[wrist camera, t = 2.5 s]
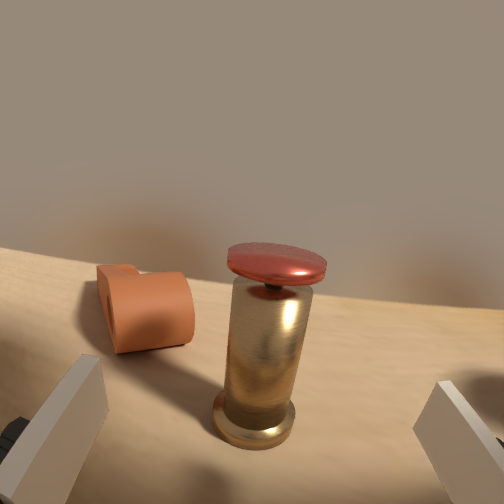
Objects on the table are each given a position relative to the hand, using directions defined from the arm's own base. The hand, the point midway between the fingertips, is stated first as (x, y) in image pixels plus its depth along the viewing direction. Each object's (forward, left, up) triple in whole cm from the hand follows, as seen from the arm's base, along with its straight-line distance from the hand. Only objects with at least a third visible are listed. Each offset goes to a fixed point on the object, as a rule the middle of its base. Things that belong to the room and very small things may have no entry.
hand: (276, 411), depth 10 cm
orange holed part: (+14, -25, -11) cm, 31 cm away
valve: (0, -10, -11) cm, 15 cm away
